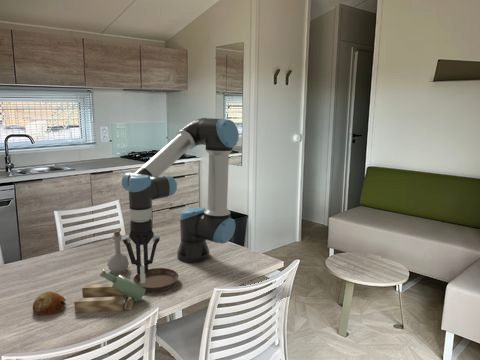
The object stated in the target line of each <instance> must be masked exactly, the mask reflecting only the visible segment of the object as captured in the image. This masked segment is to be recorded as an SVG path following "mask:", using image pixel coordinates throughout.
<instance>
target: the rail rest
mask: <svg viewBox="0 0 480 360" xmlns="http://www.w3.org/2000/svg"><path fill="white" fill-rule="evenodd" d="M112 285H113V283H104V284H103V283H102V284H100V283H98V284H83V286H82V288H81V289H82V290H81V291H82V297H79V298H75V300H74V302H73V303H74V304H73V305H74V313H75V314H76V313H92V312H93V313H94V312H95V313H96V312H111V311H112V312H116V311H117V312H119V311H123V310H124V309H125V311H132V310H133V309H132V308H133V305H134V303H135V299H133V298H131V297H129V296H128V295H126V294H124V293H122V292H120V291H119V290H117V289H115V288H113V287H112ZM127 297H128V298H127ZM124 306H125V307H124Z"/></svg>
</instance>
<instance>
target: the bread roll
mask: <svg viewBox="0 0 480 360" xmlns="http://www.w3.org/2000/svg"><path fill="white" fill-rule="evenodd" d="M66 305H67V302H66V298H65V297H64V296H63V295H61V294H59V293H58V292H54V291H50V290H49V291H45V292H42V293H41V294H39V295H38V296H37V297H36V299H35V300H34V301H33V303H32V312H33V314H35V315H36V316H41V317H43V316H45V317H46V316H50V315H54V314H58V313H60V312H61V311H62V310H63V309H64V308H65V306H66Z"/></svg>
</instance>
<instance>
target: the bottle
mask: <svg viewBox="0 0 480 360" xmlns="http://www.w3.org/2000/svg"><path fill="white" fill-rule="evenodd" d="M99 277H101V278H104V279H106V280H108V281H110V282H111V283H112V284H113V285H112V287H113V288H115V289H117V290H119V291H120V292H122V293H124V294H126V295H127V297H131V298H133V299H134V301H137V302H140V301H141V300H142V298H143V297H144V295H145V294H146V292H147V291H146V289H145V288H143V287H141V286H140V285H138V284H136V283H134V280H130V279H129V278H127V277H125V276H124V275H122V274H117V276H116V275H115V274H114V275H113V274H112V273H111V272H108V271H107V270H105V269H102V270H101V272H100V273H99Z"/></svg>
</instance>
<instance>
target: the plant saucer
mask: <svg viewBox="0 0 480 360" xmlns="http://www.w3.org/2000/svg"><path fill="white" fill-rule="evenodd" d="M145 278H146V280H145V283H141V281H140V274H138V273H136V274H135V276H134V277H133V280H132V281H133V282H134V283H136V284H138V285H140V286H141V287H143V288H145V289H146V291H145V292H161V291H165V290H168V289H169V288H172V287H173V286H174V285H175V284H176V283H177V282H178V279H179V273H178V272H177V271H176V270H173V269H171V268H168V267H167V268H166V267H155V268H148V273H147V274H145Z"/></svg>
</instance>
